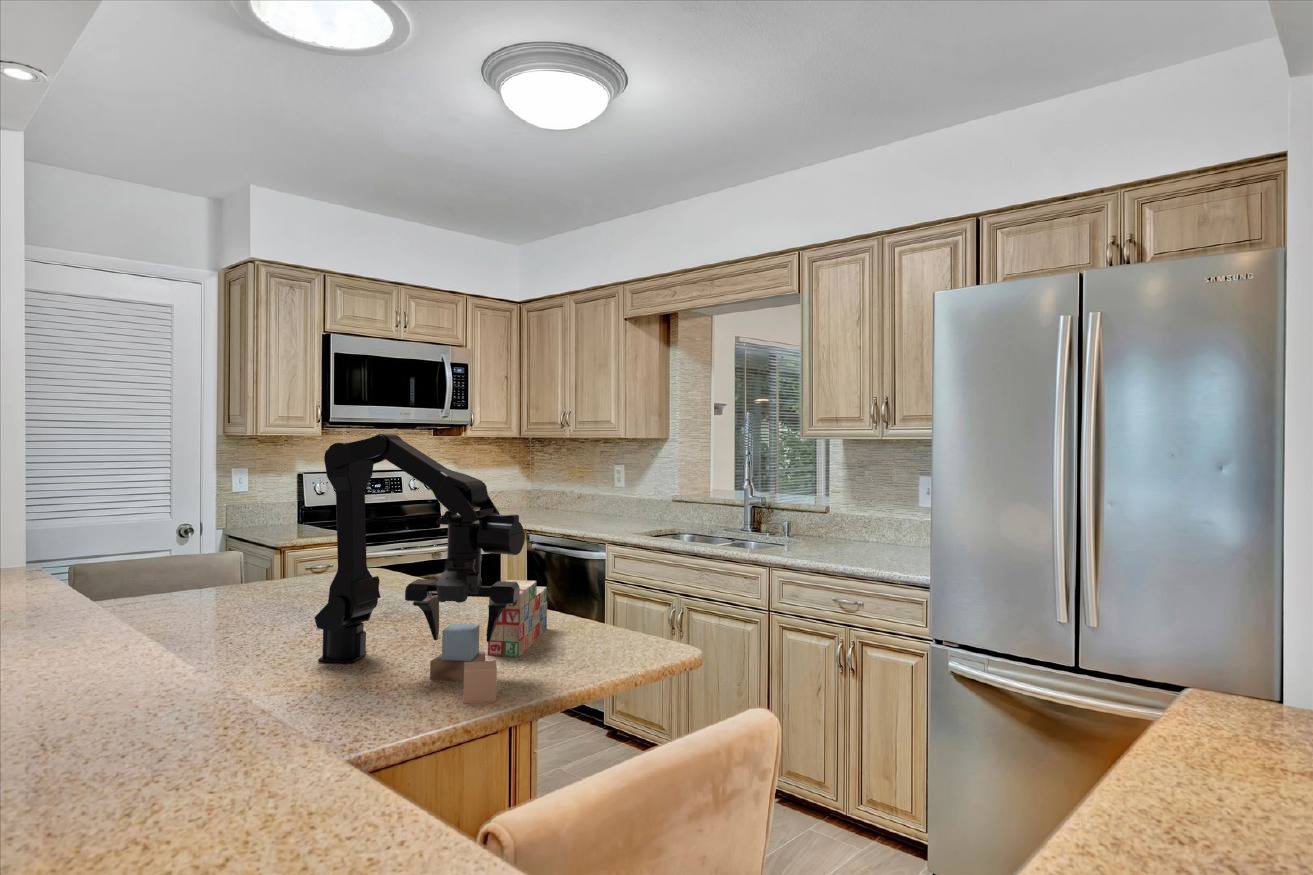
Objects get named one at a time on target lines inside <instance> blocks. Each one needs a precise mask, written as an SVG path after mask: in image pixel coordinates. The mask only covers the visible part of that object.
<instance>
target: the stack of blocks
mask: <svg viewBox="0 0 1313 875" xmlns="http://www.w3.org/2000/svg"><path fill="white" fill-rule="evenodd" d="M505 582H517V583H518V585H519V587H520V596H519V598H518V599H517V600H516V601H515V602H514V603H511V604H509V605H508V606H507V607H506V608H503V610H502V612H501V614H500V616H499V618H498V621H497V624H496V626H495V629H494V632H493V634H492V637H491V640H490V641H489V642H487V656H495V657H496V656H498V657H517V658H519V657H521V655H523V654H524V652H526V651H527V650H528V649H529V648H530V647H531V646H532V645H533V643H534V642H535V641H536V640H537V639H538V638H539V637H540V636H542V634H543V633H544V632H545V631H546V630H547V628H548V627H547V625H548V623H547V622H548V620H547V618H548V587H547V586H537V583H538V582H537V580H522V579H521V580H518V579H507V580H505ZM492 602H493V601H492V600H491V599H490V597H488V605H489V604H491V603H492ZM488 617H489V615H488ZM488 617H487V618H488Z"/></svg>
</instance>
